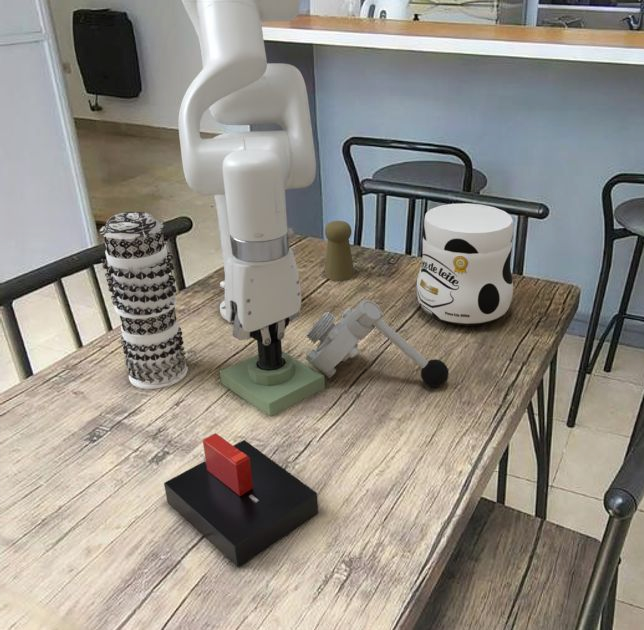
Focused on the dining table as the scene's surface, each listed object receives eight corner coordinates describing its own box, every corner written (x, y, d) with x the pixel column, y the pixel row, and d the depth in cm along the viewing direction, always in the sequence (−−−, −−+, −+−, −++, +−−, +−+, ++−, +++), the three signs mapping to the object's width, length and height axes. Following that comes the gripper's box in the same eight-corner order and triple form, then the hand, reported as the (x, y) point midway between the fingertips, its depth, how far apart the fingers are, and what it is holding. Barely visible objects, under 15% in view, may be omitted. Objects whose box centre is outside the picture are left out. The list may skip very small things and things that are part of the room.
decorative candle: (177, 392, 99) (150, 230, 88) (115, 388, 100) (79, 227, 88) (199, 359, 107) (176, 208, 96) (141, 356, 108) (112, 205, 96)
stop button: (254, 372, 100) (253, 361, 99) (274, 362, 103) (273, 352, 102) (269, 381, 98) (268, 371, 97) (289, 371, 100) (288, 361, 100)
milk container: (402, 324, 119) (404, 227, 111) (432, 284, 134) (435, 196, 126) (499, 341, 115) (508, 241, 106) (518, 299, 129) (528, 208, 121)
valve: (382, 443, 105) (445, 396, 97) (284, 360, 101) (341, 303, 93) (401, 402, 113) (461, 355, 105) (311, 324, 110) (366, 269, 102)
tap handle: (206, 470, 80) (201, 438, 78) (220, 463, 81) (215, 431, 79) (240, 496, 76) (235, 463, 74) (253, 488, 77) (249, 455, 75)
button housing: (221, 383, 102) (217, 360, 100) (275, 358, 108) (273, 336, 106) (270, 416, 95) (268, 392, 93) (325, 387, 101) (324, 365, 99)
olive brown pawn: (343, 266, 141) (342, 215, 136) (360, 275, 137) (359, 224, 132) (318, 273, 138) (316, 221, 133) (335, 283, 134) (333, 230, 129)
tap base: (165, 501, 80) (161, 480, 78) (244, 457, 87) (242, 437, 85) (237, 568, 71) (234, 546, 70) (318, 512, 78) (317, 491, 77)
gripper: (287, 225, 98) (295, 336, 106) (195, 252, 88) (211, 373, 96) (321, 238, 94) (327, 353, 102) (228, 268, 84) (243, 393, 92)
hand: (271, 362), depth 99 cm, fingers closed
